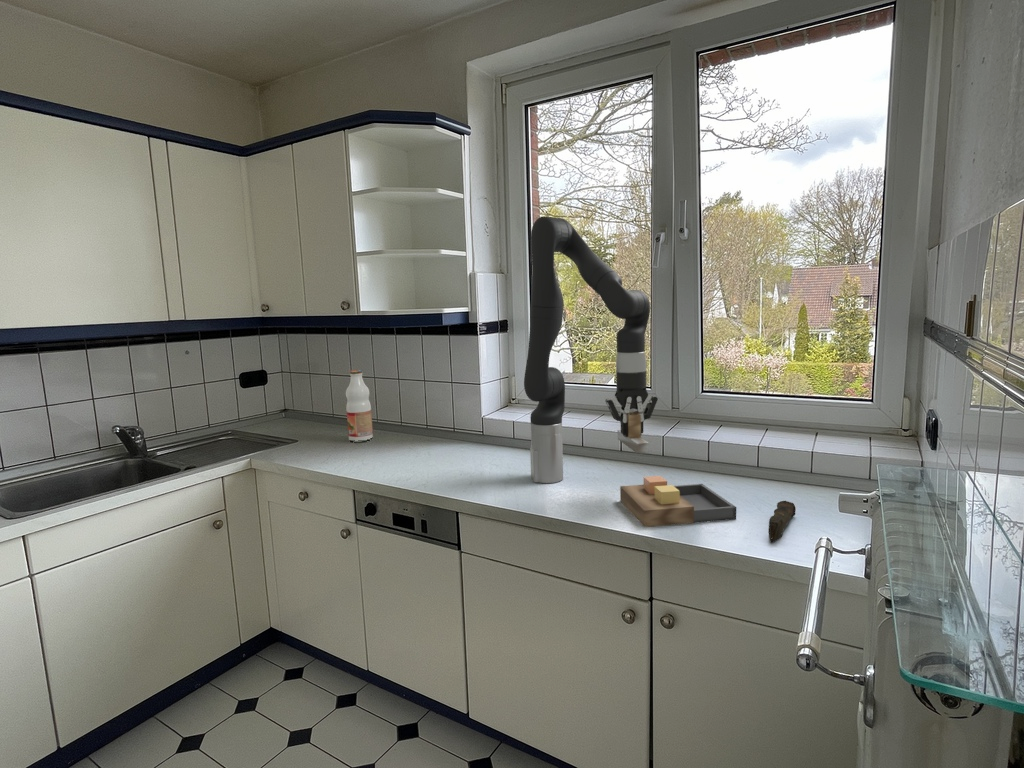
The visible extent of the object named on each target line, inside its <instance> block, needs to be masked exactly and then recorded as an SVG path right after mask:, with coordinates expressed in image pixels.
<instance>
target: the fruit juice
mask: <svg viewBox="0 0 1024 768" xmlns="http://www.w3.org/2000/svg"><path fill="white" fill-rule="evenodd" d="M363 374H364V373H363V370H362V369H354V370H353V369H351V370H349V376H350V381H349V384H348V386H347V388H346V389H345V396H346V399H347V402H346V406H345V407H346V408H345V409H346V419H347V421H346V422H347V431H348V432H347V433H348V441H349V440H355V441H358V440H367V439H370V438H372V437H373V438H374V433H373V431H374V429H373V419H372V418H373V417H372V406H371V401H370V399H369V398H370V389H369V387H368V386H367V385H366V384H365V381H364V379H363Z"/></svg>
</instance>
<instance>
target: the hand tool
mask: <svg viewBox="0 0 1024 768" xmlns="http://www.w3.org/2000/svg"><path fill="white" fill-rule="evenodd" d="M795 505H796V504H795V503H793V502H792V501H791V502H790V501H788V500H782V501H778V502H777V503H776V508H775V509H774V511H773V515H771V516H770V517H769V521H768V539H769V542H770V544H773V543H775V542H778V541H779V540H780V539H781V538H782V537H783V532H784V531H785V528H786V527H787V526H788V523H789V522H790V520H791V518H793V517H794V516H796V510H797V509H796V506H795Z"/></svg>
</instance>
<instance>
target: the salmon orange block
mask: <svg viewBox="0 0 1024 768" xmlns="http://www.w3.org/2000/svg"><path fill="white" fill-rule="evenodd" d="M643 485H644V489H645V490H646V491H647V492H648V493H649V494H654V486H665V485H668V480H666V479H665V478H664V477H662V476H661V475H654V476H644V477H643Z"/></svg>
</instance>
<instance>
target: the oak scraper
mask: <svg viewBox="0 0 1024 768" xmlns="http://www.w3.org/2000/svg"><path fill="white" fill-rule="evenodd" d="M627 423H628V437H624V436H623V434H621V429H617V440H618V441H620V442H621V443H622V444H624V445H625V446H627V447H628V448H629V449H631V450H632V452H634V453H636V454H648V453H650V442H648V441H647V440H646V439H644V438H642V433H641V414H638V413H637V412H635V411H629V414H628V419H627Z"/></svg>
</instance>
